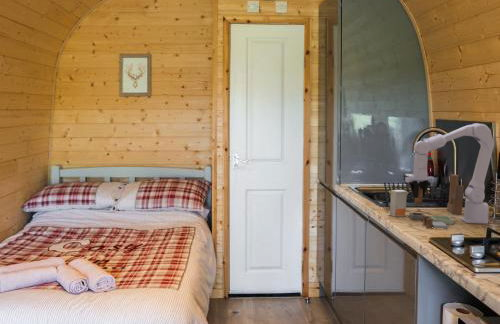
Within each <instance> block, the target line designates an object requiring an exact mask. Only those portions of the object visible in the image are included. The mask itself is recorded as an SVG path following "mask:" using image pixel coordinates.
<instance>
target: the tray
mask: <svg viewBox="0 0 500 324" xmlns="http://www.w3.org/2000/svg"><path fill="white" fill-rule="evenodd" d="M428 216H429V217H430V218H432V219H433V222H443V223H445V224H449V225H450V226H451V225H452V226H454V223H455V220H454V219H453V218H451V217H450V216H449V215H432V214H431V215H430V214H429V215H428ZM449 225H448V226H449Z"/></svg>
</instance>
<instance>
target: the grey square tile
mask: <svg viewBox="0 0 500 324" xmlns="http://www.w3.org/2000/svg"><path fill="white" fill-rule="evenodd" d="M432 227H433V228H443V229H442V230H448V229H449V225H446V224H445V223H443V222H433V225H432ZM433 228H432V229H433Z"/></svg>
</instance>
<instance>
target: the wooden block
mask: <svg viewBox="0 0 500 324" xmlns="http://www.w3.org/2000/svg"><path fill="white" fill-rule="evenodd" d="M449 180H450V181H449V194H448V202H447V207H446V210H447V211H449V212H450V213H452V214H453V215H459V216H460V215H462V214H463V213H462V212H463V200H464V192H465V190H464V189H465V186H464V185H459V174H453V173H452V174H450V179H449Z"/></svg>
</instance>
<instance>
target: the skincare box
mask: <svg viewBox="0 0 500 324" xmlns="http://www.w3.org/2000/svg"><path fill="white" fill-rule="evenodd" d="M390 191H391V199H390V204H389V205H390V206H389V216H392V217H397V218H399V217H406V212H407V198H408V197H407V196H408V194H407V192H408V191H407V190H405V189H391V190H390Z"/></svg>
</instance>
